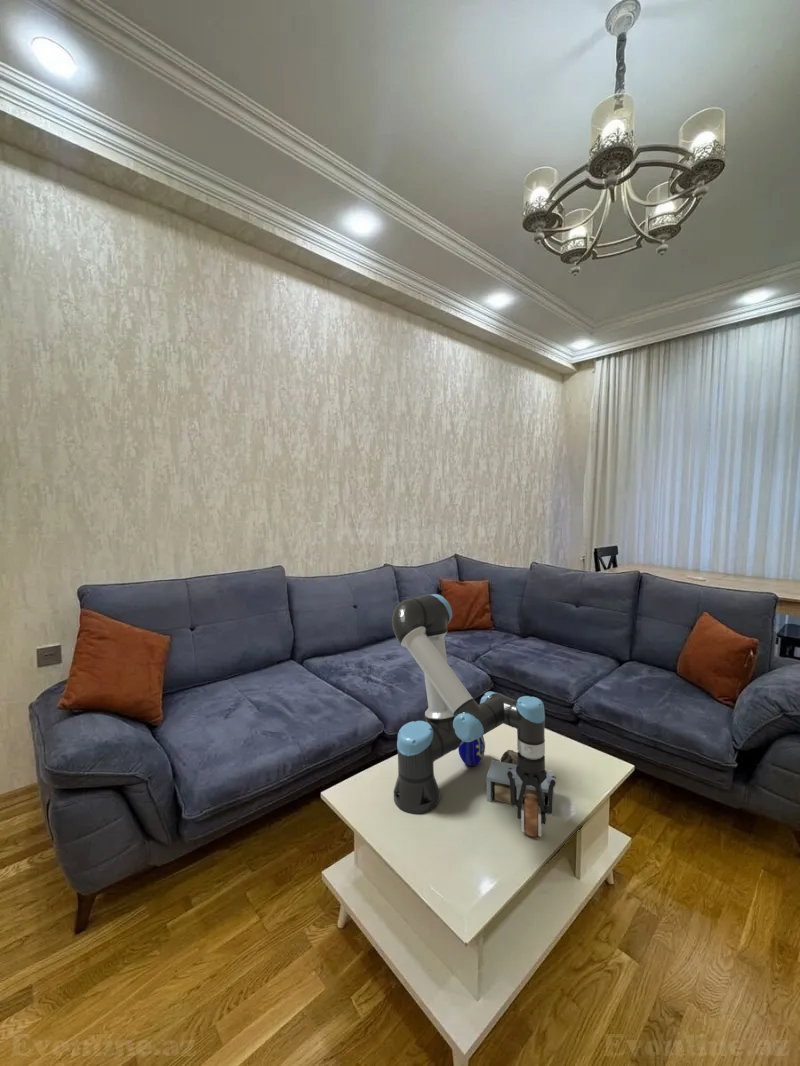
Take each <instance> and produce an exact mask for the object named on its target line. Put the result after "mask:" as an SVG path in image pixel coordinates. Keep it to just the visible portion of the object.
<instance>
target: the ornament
mask: <svg viewBox="0 0 800 1066" xmlns="http://www.w3.org/2000/svg"><path fill="white" fill-rule="evenodd" d="M457 750H458V754H459V758H460V759H461V760H462V762H463V763H464V764H465V765H468V766H471V767H472V766H475V767H476V766H478V765H479V764H480V763H481V762H482V760H483V758H484V756H485V753H486V752H485V751H486V741H485V738H484V735H483V736H482V737H481V738H478V739H476V740H473V741H471V742H464V743H463V744H462V745H461V746H459V747H458V748H457Z"/></svg>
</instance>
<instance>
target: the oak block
mask: <svg viewBox="0 0 800 1066" xmlns="http://www.w3.org/2000/svg"><path fill="white" fill-rule="evenodd" d="M515 789H516V786H515ZM494 800H495V801H499V802H503V803H508V804H511V798H510V785H507V784H502V783H498V782H495V787H494Z"/></svg>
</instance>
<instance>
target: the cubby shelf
mask: <svg viewBox="0 0 800 1066" xmlns="http://www.w3.org/2000/svg"><path fill="white" fill-rule="evenodd" d="M516 767H517V765H515V764H510V763H505V762H501V760H500V761H498V760H493V759H492V760H491V762H490V766H489V768H488V771H487V773H486V802H490V803H491V802H492V798H493V794H494V792H495V782H498V783H502V784H507V785H510V780H509V778H508V775H507V773H508V768H512V769H516ZM545 771H546V773H547V775H549V776H551V777H552V776H554V771H551V770H546V769H545ZM515 786H516V799H517V800H518V799H519V795H520V790H521V786H522V780H521V779H520V777H519V776H518V774H516V777H515ZM541 788H542V792H545V797H548V788H549V785H548V784H547V780H546V779H545V780H544V781H543V782H542V783H541ZM554 788H555V787H554ZM554 788H553V798H554V794H555V793H554V792H555V791H554ZM526 789H531V790H536V789H535V787H533V786H531V785H529V786H528V785H527V786H526ZM553 812H554V802H553V803H552V814H549V813H547V815H548V816H551V817H552V816H553Z"/></svg>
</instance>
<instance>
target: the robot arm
mask: <svg viewBox="0 0 800 1066" xmlns="http://www.w3.org/2000/svg"><path fill="white" fill-rule="evenodd" d="M452 618H453V609H452V607H451V604H450V603H449V602H448V600H447V599H445V597H444V596H442V595H441V594H437V593H433V594H432V593H431V594H424V595H421V596H417V597H413V598H408V599H403V600H402V601H401V602H399V603H398V604H397V606H395V608H394V610H393V613H392V617H391V625H392V626H391V627H392V630H393V632H394V635H395V638H396V640H397V641H398V643H399V644H400V645H401V648H406V649H407V650H408V652H409V653H410V654H411V656H412V657H413V659H414V660H415V662H416V663H417V665H418V666H419V667H420V669H421V671H423V674H424V683H425V690H426V697H427V698H426V700H427V707H428V708H427V709H426V710H425V712H424V718H425V719H424V720H425V721H424V720H416V721H413V720H412V721H409V722H407V723H405V724H404V725H402V726H401V728H400V729H399V731H398V733H397V741H396V747H397V748H396V749H397V771H398V772H397V774H398V775H397V778H396V781H395V785H394V789H393V801H394V802H393V803H394V804H395V805H396V806H397V808H399V809H400V810H402V811H404V812H407V813H409V814H410V813H411V814H424V813H427V812H430V811H431V810H433V809H435V808H436V807H437V806H438V805H439V802H440V797H441V796H440V794H441V793H440V787H439V785H438V783H437V779H436V777H435V771H434V769H435V768H434V763H435V762H436V761H437V760H439V759H441V758H443V757H444V756H446V755H447V754H449V753H451V752H453V751H456V750H458V748H459V746H461V745H462V744H463V743H464V742H471V741H473V740H476V739H478V738H481V737H482V736H483V737H484V736H485V735H486V734H488V733H489V732H491V731H493V730H495V729H496V728H498V727H499V726H501V725H507V726H508V727H510V728H514V729H516V730H517V731H516V733H517V735H516V737H517V740H516V741H517V743H516V744H517V754H518V765H517V767H516V769H512V768H508V773H507V775H508V778H509V780H510V798H511V803H510V805H511V806H513V807H514V806H515V807H516V809H517V810H516V811H517V812H516V813H517V819H520V822H521V825H520V826H521V829H520V830H521V833H525V831H524V794H525V790H526V786H527V785H528V786H529V785H531V786H533V787H535V789H536V792H537V797H538V801H539V812H538V837H540V838H541V837H542V834H543V833H542V831H543V829H542V827H543V825H546V821H547V820H546V819H547V816H546V815H547V814H548V813H549V814H552V803H553V804H554V797H553V788H555V786H556V781H557V780H556V779H557V778H556V776H554V775H553V776H552V777H551V776H549V775H547V773H546V771H545V770H546V759H545V758H546V755H545V754H546V750H545V749H546V740H545V728H546V725H545V723H546V722H545V721H546V714H545V713H546V712H545V705H544V702H543V701H542V700H541V699H540V698H538V697H535V696H530V695H523V696H520V697H519V698H517V699H514V698H511V697H509V696H507V695H504V694H502V693H499V692H495V691H486V692H485V693H484V694H483V696H482V697H481V699H480V702H479V704H478V702H477V701H476V700H475V698H474V697H473V696H472V695H471V693H470V692H469V691H468V689H467V688H466V687H465V685H464V684H463V683H462V681H461V680H460V678H459V677H458V676H457V675H456V673H455V672H454V670H453V669H452V667H451V666H450V664H448V659H447V651H446V650H447V649H446V643H445V642H446V641H445V637H446V635H447V633H448V631H449V630H448V625H449V623H450V622H451V620H452ZM516 774H518V776H519V777H520V779H521V780H522V786H521V790H520V795H519V799H518V800H517V790H516V789H515V777H516ZM545 779H546V780H547V784H548V785H549V788H548V796H547V805H546V801H545V802H544V797H543V792H542V788H541V783H542V782H543V781H544V780H545Z"/></svg>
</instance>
